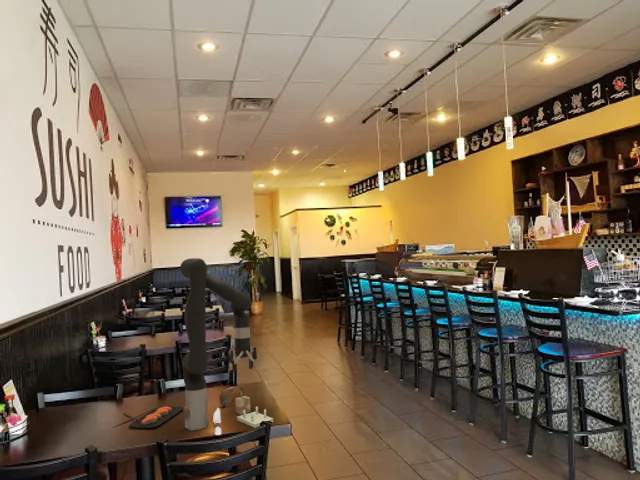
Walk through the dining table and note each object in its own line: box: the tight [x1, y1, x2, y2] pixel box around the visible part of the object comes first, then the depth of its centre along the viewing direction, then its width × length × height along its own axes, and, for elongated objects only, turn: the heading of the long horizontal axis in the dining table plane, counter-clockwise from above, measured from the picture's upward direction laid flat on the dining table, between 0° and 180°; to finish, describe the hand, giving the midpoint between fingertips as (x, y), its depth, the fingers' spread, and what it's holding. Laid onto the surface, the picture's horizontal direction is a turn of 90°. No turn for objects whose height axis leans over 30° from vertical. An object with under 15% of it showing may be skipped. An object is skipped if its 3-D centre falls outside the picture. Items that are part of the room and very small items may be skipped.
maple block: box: [235, 395, 251, 416], centre depth 241 cm, size 5×5×7 cm
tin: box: [218, 385, 245, 408], centre depth 256 cm, size 15×3×8 cm, turn 143°
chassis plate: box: [236, 406, 274, 429], centre depth 228 cm, size 10×15×5 cm, turn 40°
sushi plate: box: [111, 405, 184, 429], centre depth 239 cm, size 29×30×4 cm
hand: (243, 370), depth 242 cm, fingers open, 8 cm apart
